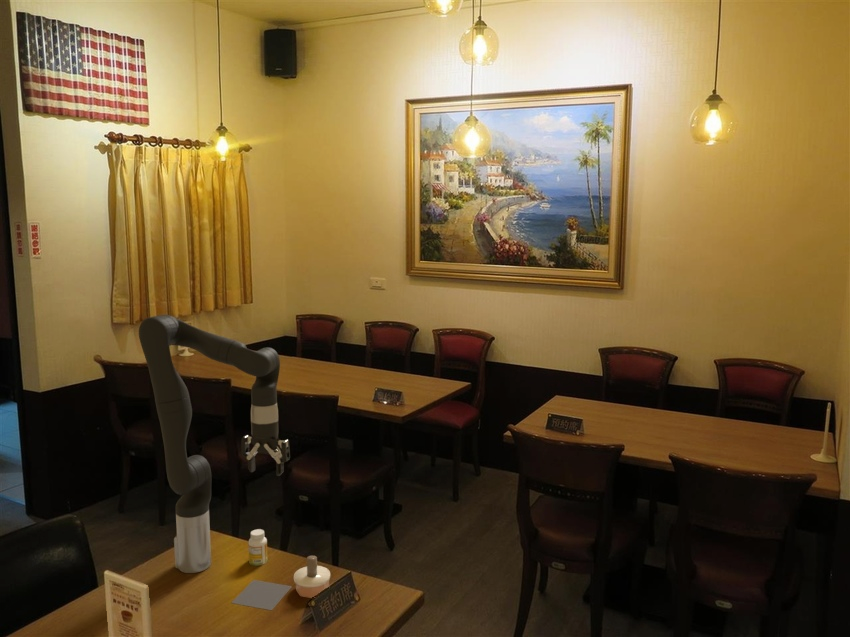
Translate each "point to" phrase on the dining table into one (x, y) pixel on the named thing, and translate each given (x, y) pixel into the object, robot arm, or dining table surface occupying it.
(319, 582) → the lid
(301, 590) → the bowl
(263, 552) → the supplement bottle
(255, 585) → the mat
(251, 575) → the dining table surface
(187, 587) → the dining table surface
